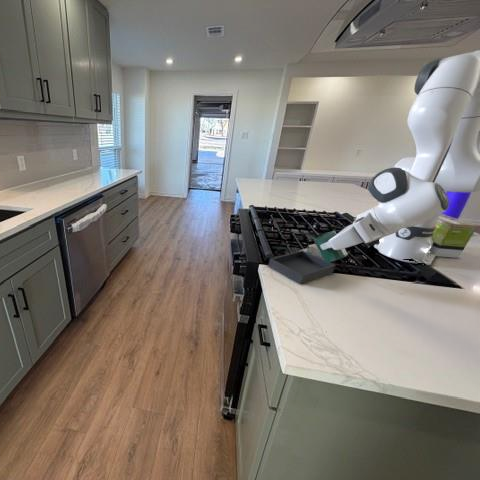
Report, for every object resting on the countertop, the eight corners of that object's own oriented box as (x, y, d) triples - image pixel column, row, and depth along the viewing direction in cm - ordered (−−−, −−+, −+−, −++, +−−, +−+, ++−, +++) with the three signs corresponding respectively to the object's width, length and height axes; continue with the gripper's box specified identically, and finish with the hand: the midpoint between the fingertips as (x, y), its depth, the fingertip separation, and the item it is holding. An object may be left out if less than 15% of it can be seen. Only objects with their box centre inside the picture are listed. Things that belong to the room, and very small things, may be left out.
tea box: (404, 241, 119) (419, 211, 113) (427, 243, 118) (443, 213, 112) (434, 256, 105) (452, 222, 99) (459, 258, 104) (479, 225, 99)
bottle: (441, 230, 136) (470, 173, 124) (454, 236, 129) (486, 176, 117) (423, 228, 138) (450, 172, 126) (434, 234, 130) (464, 175, 118)
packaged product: (327, 236, 110) (351, 244, 102) (323, 246, 112) (347, 255, 104) (301, 243, 102) (325, 253, 94) (298, 253, 104) (322, 264, 96)
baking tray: (300, 256, 101) (302, 250, 100) (333, 272, 91) (335, 265, 90) (268, 265, 94) (269, 258, 92) (300, 284, 83) (302, 276, 82)
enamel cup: (332, 256, 88) (321, 235, 90) (351, 252, 82) (338, 229, 83) (321, 263, 86) (309, 241, 87) (339, 259, 80) (326, 235, 81)
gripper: (373, 209, 82) (330, 229, 92) (357, 222, 69) (309, 243, 80) (385, 226, 81) (340, 244, 91) (371, 242, 68) (321, 261, 78)
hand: (325, 244), depth 85 cm, fingers closed on enamel cup, 7 cm apart
